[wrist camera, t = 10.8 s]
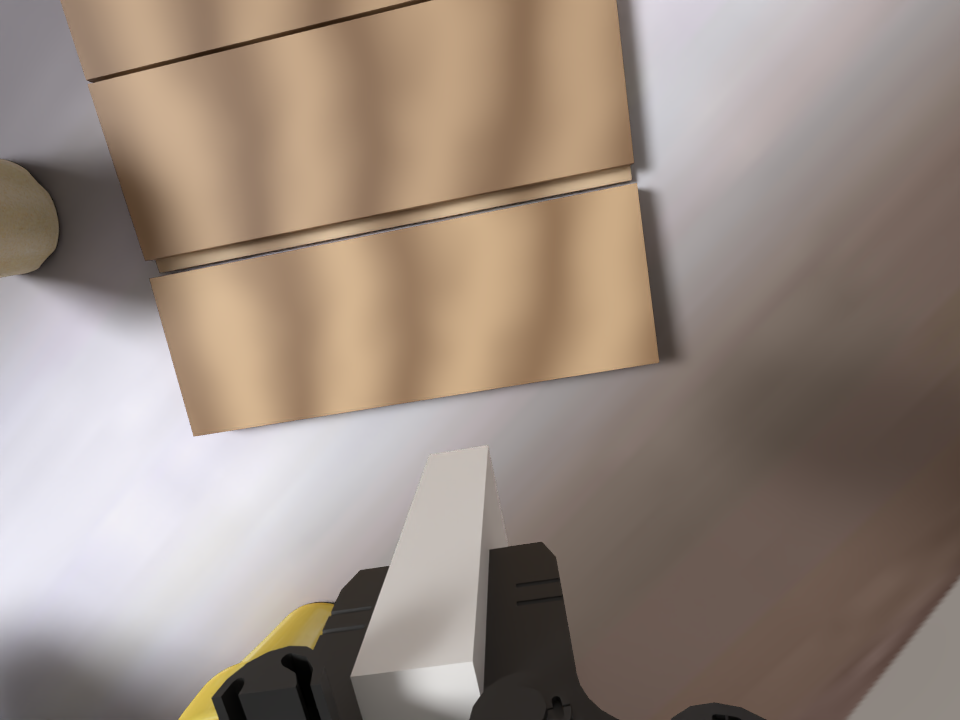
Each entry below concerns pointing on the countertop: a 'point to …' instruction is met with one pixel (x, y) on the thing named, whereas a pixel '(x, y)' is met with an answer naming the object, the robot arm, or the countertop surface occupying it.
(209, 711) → the plant pot
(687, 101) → the countertop surface
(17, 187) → the flower pot
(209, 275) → the board
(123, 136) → the laid floor
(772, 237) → the countertop surface
